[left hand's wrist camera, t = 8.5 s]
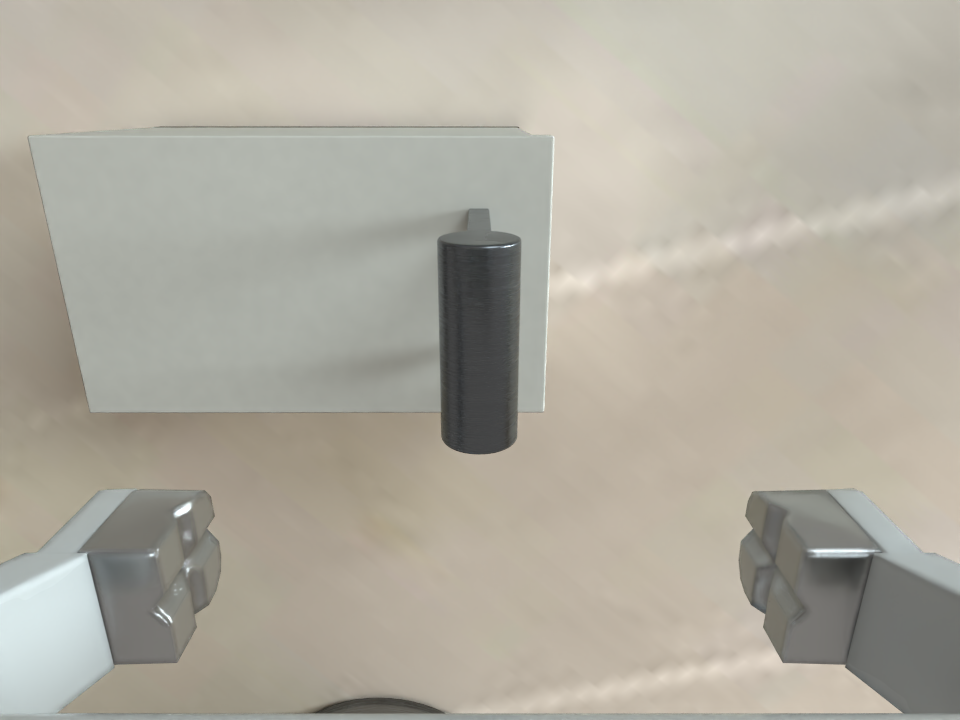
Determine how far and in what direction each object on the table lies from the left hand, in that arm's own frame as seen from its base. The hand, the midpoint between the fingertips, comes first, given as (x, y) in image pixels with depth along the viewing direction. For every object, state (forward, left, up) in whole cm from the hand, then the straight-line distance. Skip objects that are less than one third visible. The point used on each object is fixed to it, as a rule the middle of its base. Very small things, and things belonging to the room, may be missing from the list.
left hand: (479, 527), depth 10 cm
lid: (+4, -5, -16) cm, 17 cm away
